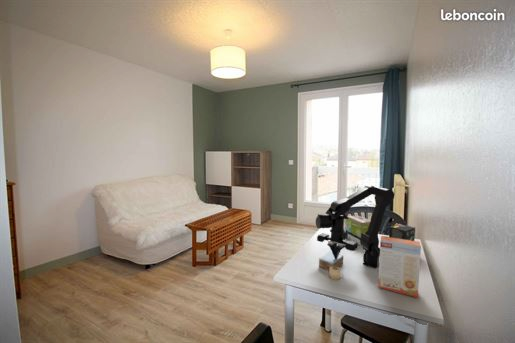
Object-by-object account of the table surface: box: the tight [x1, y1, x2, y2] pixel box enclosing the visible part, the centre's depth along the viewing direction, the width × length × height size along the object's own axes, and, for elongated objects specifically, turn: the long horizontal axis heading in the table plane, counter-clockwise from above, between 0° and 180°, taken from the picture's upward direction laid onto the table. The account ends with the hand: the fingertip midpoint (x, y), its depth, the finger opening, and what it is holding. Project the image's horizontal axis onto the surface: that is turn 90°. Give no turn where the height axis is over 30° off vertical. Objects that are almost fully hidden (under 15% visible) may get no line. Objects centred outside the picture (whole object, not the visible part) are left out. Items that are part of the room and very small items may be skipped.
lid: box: [318, 250, 344, 264], centre depth 119 cm, size 7×12×1 cm, turn 137°
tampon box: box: [388, 223, 416, 241], centre depth 136 cm, size 11×9×15 cm
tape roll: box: [328, 266, 342, 281], centre depth 107 cm, size 5×5×4 cm
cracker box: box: [378, 235, 422, 298], centre depth 97 cm, size 14×6×21 cm, turn 59°
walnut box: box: [318, 256, 344, 271], centre depth 119 cm, size 7×12×4 cm, turn 137°
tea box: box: [344, 214, 371, 247], centre depth 152 cm, size 15×10×15 cm
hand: (336, 258), depth 117 cm, fingers closed, pressing on lid
